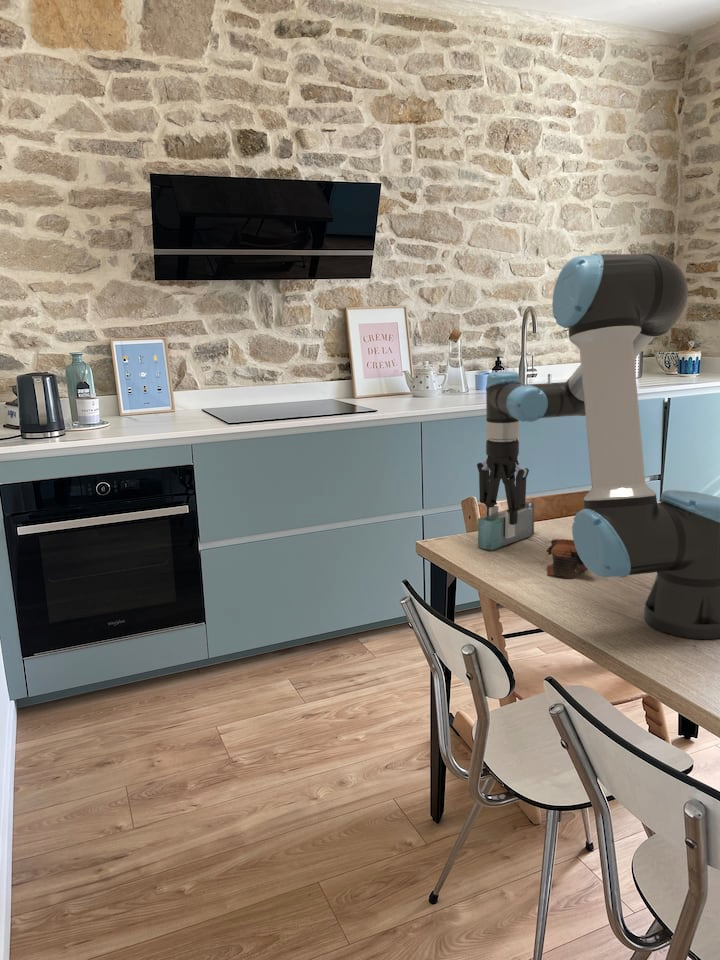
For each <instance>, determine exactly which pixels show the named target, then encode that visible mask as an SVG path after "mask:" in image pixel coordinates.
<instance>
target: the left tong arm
mask: <svg viewBox="0 0 720 960" xmlns="http://www.w3.org/2000/svg"><path fill="white" fill-rule="evenodd" d="M507 510H508V508H507V509H504V510H501V511H498V513H495V514H492V515H488V516H487V515H486V516H483V517H479V518H477V548H480V549H483V550H485V549H484V520H487V519H490V518H493V517H496V516H500V515H503V514H505V511H507Z"/></svg>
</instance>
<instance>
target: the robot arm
mask: <svg viewBox="0 0 720 960" xmlns="http://www.w3.org/2000/svg"><path fill="white" fill-rule="evenodd" d="M688 297H689V290H688V282H687V279H686V276H685V274H684V272H683V271H682V269H681V268H680V266H679V265H678V264H677V263H676V262H675V261H674V260H672V259H670V258H669V257H667V256H664V255H661V254H658V253H646V252H645V253H641V254H640V253H626V254H625V253H621V254H620V253H619V254H617V253H616V254H615V253H612V254H611V253H609V254H608V253H607V254H604V253H603V254H601V253H594V254H592V255H579V256H575V257H572V258H571V259H569V261H568V262H566V263H565V264H564V266H563V267H562V269H561V270H560V272H559V274H558V276H557V279H556V281H555V285H554V288H553V293H552V305H551V306H552V315H553V317H554V319H555V322H556V324H557V325H558V326H560V327H561V328H564V329H568V337H569V339H568V340H569V342H571V343H572V344H573V345H575V346H576V347H577V348H578V349H579V358H580V365H579V366H578V367H577V368H576V369H575V370H574V372H572V374H571V376H570V377H569V378H568V379H567V380H566V381H563V382H562V381H561V382H547V383H530V384H529V383H527V384H521V377H520V374H519V373H518V372H515V371H495V372H490V373H489V374H488V375H487V376H486V387H485V391H486V393H485V395H486V398H485V399H486V401H485V402H486V404H485V405H486V414H485V415H486V418H485V419H486V421H485V437H486V439H487V440H486V442H485V444H486V445H485V454H486V456H487V457H486V461H482V462H478V463H477V464H476V467H477V470H478V481H479V483H478V484H479V487H478V488H479V493H478V494H479V502H480V504H484V505H485V507H486V516H488V515H492V514H495V513H498V512H499V506H498V502H497V498H498V494H499V489H500V484H501V483H502V484H503V485H504V491H505V499H506V504H507V509H508V510H507V509H506V510H507V511H505V538H507V539H508V538H511V537H514V536H515V524H517V513H518V510H521V509H524V508H525V503H526V495H527V477H528V475H529V472H530V470H529V468H528V467H525V468H524V467H522V466H521V465H520V463H519V460H518V458H519V457H518V456H519V454H520V453H519V452H520V441H519V439H518V438H519V436H520V433H519V432H520V422H528V423H529V422H535V421H538V420H540V419H549V418H558V417H559V418H560V417H563V418H564V417H578V416H579V417H585V423H586V424H585V427H586V435H587V437H586V438H587V448H588V459H589V467H590V469H589V470H590V471H589V472H590V481H591V488H590V490H589V492H587V494H586V495H585V496H584V498H583V506H584V507H583V509H581V510H579V511H578V512H576V514H575V516H574V518H573V522H572V530H571V531H572V540H574V544H575V548H576V550H577V553H578V555H579V557H580V559H581V561H582V562H583V563H584V565H585V566H586V568H587V569H588V571H589V572H590V573H592V574H593V575H595V576H597V577H601V578H616V577H617V578H626V577H628V576H635V575H642V574H643V575H644V574H652V573H656V578H655V580H654V582H653V585H652V587H651V589H650V591H649V594H648V595H647V597H646V601H645V604H644V608H643V609H644V613H643V619H644V620H645V622H646V623H647V624H648V625H649V626H651V627H652V628H654V629H656V630H657V631H661V632H663V633H666V634H668V635H672V636H676V637H681V638H687V639H696V640H715V639H720V497H719V496H716V495H715V496H714V495H712V494H707V493H701V492H695V491H690V490H681V489H680V490H675V489H670V490H664V491H663V492H662V493H661V495H660V497H659V500H660V502H658V499H657V492H655V491H654V490H653V489H652V488H651V487H649V486H648V485H647V484H646V476H645V475H646V474H645V463H644V453H643V442H642V431H641V430H642V429H641V419H640V408H639V399H638V398H639V397H638V396H639V395H638V386H637V385H638V384H637V375H636V366H635V365H636V364H635V359H636V358H637V357H638V356H639V355H640V354H641V353H642V352H643V351H644V349H645V348H646V347H647V346H648V345H649V344H651V342H652V341H653V340H654V339H655V338H660V337H662V336H664V335H666V334H667V333H668V332H669V331H670V330H671V329H672V328H673V327H674V326H675V324H676V323H677V322H678V320H679V319H680V318H681V316H682V315H683V313H684V310H685V308H686V305H687V303H688ZM501 481H502V482H501Z"/></svg>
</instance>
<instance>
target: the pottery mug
mask: <svg viewBox="0 0 720 960" xmlns="http://www.w3.org/2000/svg"><path fill="white" fill-rule="evenodd" d="M550 543H551V545H550V546H549V547H548V548H547V549H546V550H545V552H546V553H547V555H548V556H550V555H552V561H553V563H552V564H547V566H546V573H547V574H546V575H547V576H551V577H552V576H556V577H560V578H565V579H571V580H572V579H574V575H575V573H576V572H577V573H578V575H582V574H584V573H586V571H587V570H588V569H587V568H586V566H585V565H584V563H583V562H582V561H581V559H580V557H579V555H578V553H577V550H576V548H575V544H574V540H573V539H565V538H564V539H562V538H560V539H559V538H558V539H552V540H551V541H550ZM588 571H589V570H588Z"/></svg>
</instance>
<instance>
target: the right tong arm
mask: <svg viewBox="0 0 720 960" xmlns="http://www.w3.org/2000/svg"><path fill="white" fill-rule="evenodd" d="M532 515H533V508H529V507H525V508H524V509H521V510H518V513H517V524H515V536H514V537H511V538H508V539H507V538H505V514H503V515H500V516H496V517H493V518H490V519H487V520H484V549H483V550H486V551H495V550H498V548H499V549H500V548H502V547H504V546H507V545H510V544H513V543H516V542H519V541H521V540H524V539H526V538H527V539H528V538H531V537H532V536H533V535H532Z"/></svg>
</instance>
